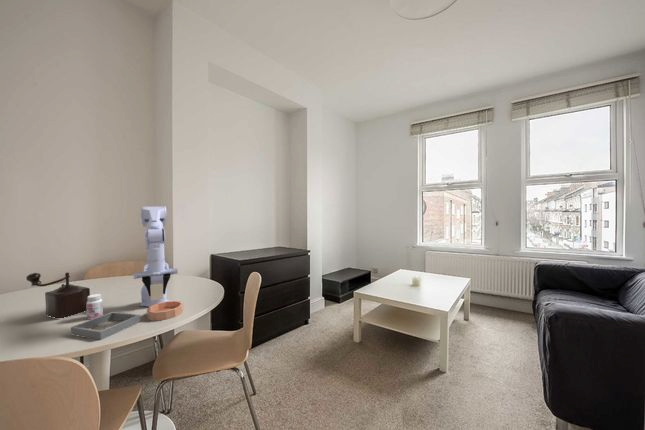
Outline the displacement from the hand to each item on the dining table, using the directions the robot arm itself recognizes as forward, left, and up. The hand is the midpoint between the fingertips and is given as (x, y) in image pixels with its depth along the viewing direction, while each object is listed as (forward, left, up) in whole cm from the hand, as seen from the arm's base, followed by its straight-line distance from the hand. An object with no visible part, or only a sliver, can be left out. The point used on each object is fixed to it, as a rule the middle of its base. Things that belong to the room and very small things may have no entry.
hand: (157, 294), depth 103 cm
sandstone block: (0, 0, -1) cm, 1 cm away
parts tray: (-8, -13, -8) cm, 18 cm away
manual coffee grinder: (-39, -9, -9) cm, 41 cm away
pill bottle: (-23, -7, -9) cm, 26 cm away
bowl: (+2, +2, -8) cm, 9 cm away
